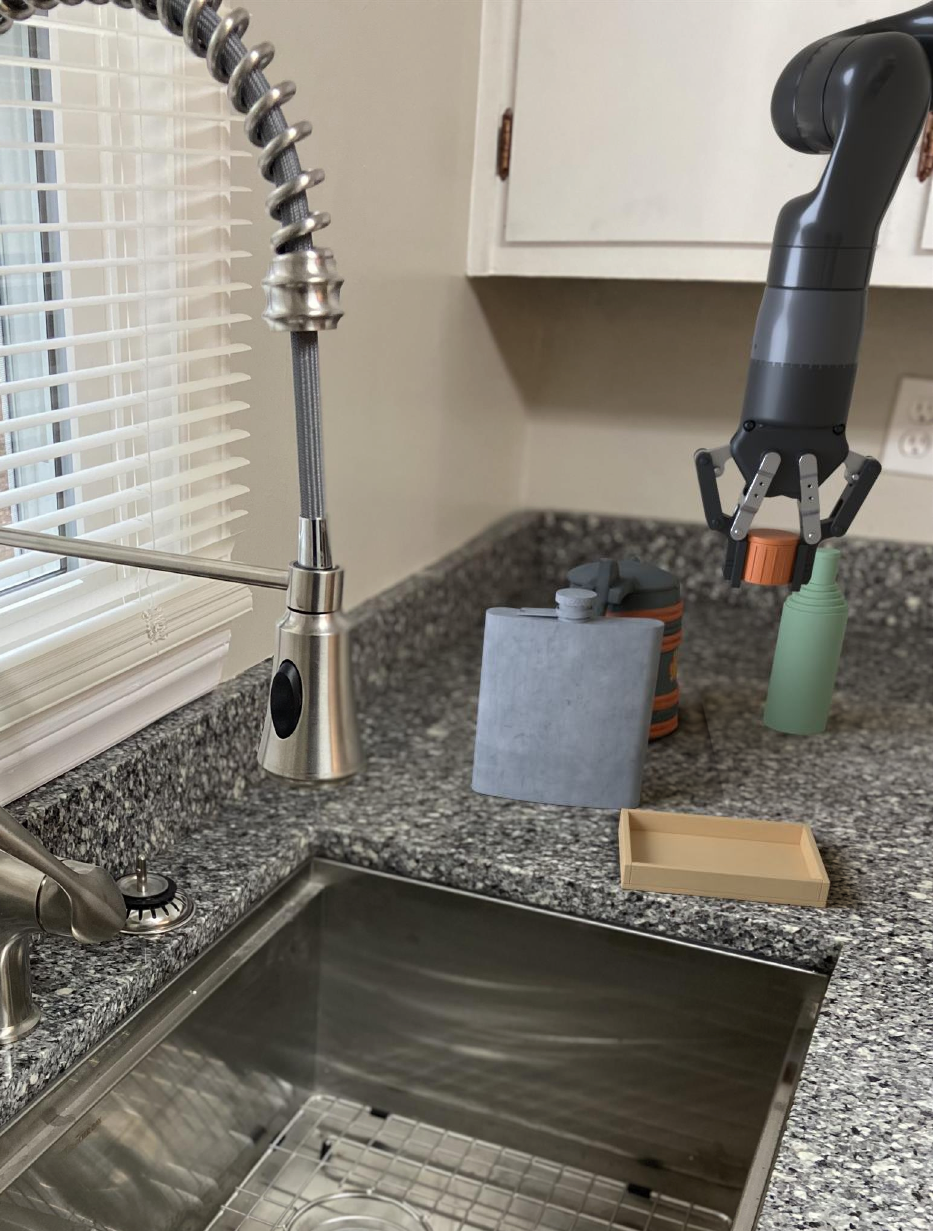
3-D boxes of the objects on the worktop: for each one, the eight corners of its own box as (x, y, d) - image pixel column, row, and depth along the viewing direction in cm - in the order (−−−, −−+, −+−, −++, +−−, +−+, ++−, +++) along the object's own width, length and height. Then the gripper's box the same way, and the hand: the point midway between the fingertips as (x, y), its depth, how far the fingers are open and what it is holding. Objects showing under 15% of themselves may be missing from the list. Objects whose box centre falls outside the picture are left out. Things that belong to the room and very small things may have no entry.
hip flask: (639, 798, 135) (668, 592, 126) (638, 814, 132) (668, 603, 123) (473, 781, 139) (490, 579, 130) (468, 796, 136) (485, 589, 127)
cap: (749, 586, 109) (758, 540, 107) (729, 572, 112) (737, 528, 111) (799, 586, 109) (808, 540, 108) (777, 572, 113) (786, 528, 111)
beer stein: (662, 768, 143) (691, 570, 134) (518, 748, 147) (537, 556, 138) (683, 711, 159) (711, 531, 149) (553, 695, 163) (572, 519, 154)
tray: (804, 847, 126) (809, 823, 125) (825, 908, 115) (830, 882, 114) (618, 831, 128) (621, 808, 127) (621, 888, 118) (624, 863, 117)
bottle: (819, 727, 154) (855, 545, 145) (827, 746, 149) (865, 559, 140) (758, 722, 155) (790, 542, 147) (763, 741, 150) (797, 555, 141)
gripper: (707, 356, 101) (673, 594, 109) (918, 363, 99) (867, 606, 106) (700, 346, 108) (668, 571, 115) (897, 352, 105) (851, 582, 113)
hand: (764, 586), depth 111 cm, fingers closed on cap, 4 cm apart
